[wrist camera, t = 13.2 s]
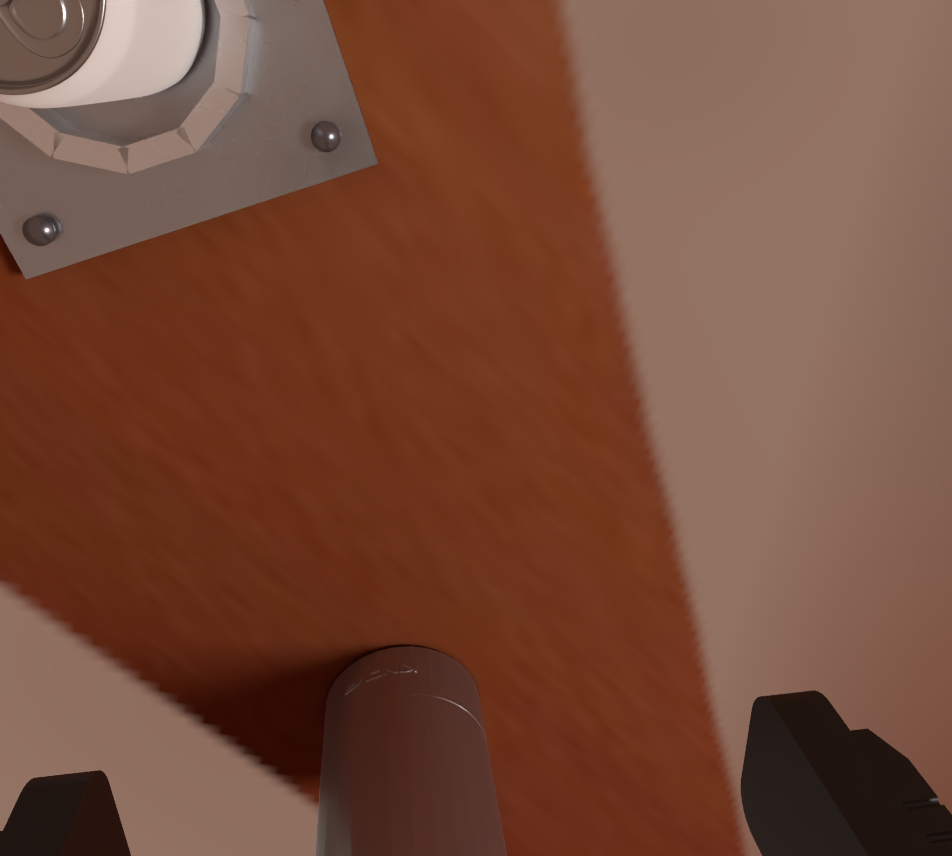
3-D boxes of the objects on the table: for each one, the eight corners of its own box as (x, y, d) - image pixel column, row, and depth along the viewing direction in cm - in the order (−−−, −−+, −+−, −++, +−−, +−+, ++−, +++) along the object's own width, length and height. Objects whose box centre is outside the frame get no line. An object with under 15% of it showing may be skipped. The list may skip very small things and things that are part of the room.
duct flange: (377, 161, 35) (378, 169, 33) (34, 273, 36) (7, 291, 33) (226, -290, 29) (212, -327, 26) (-199, -148, 29) (-257, -169, 26)
